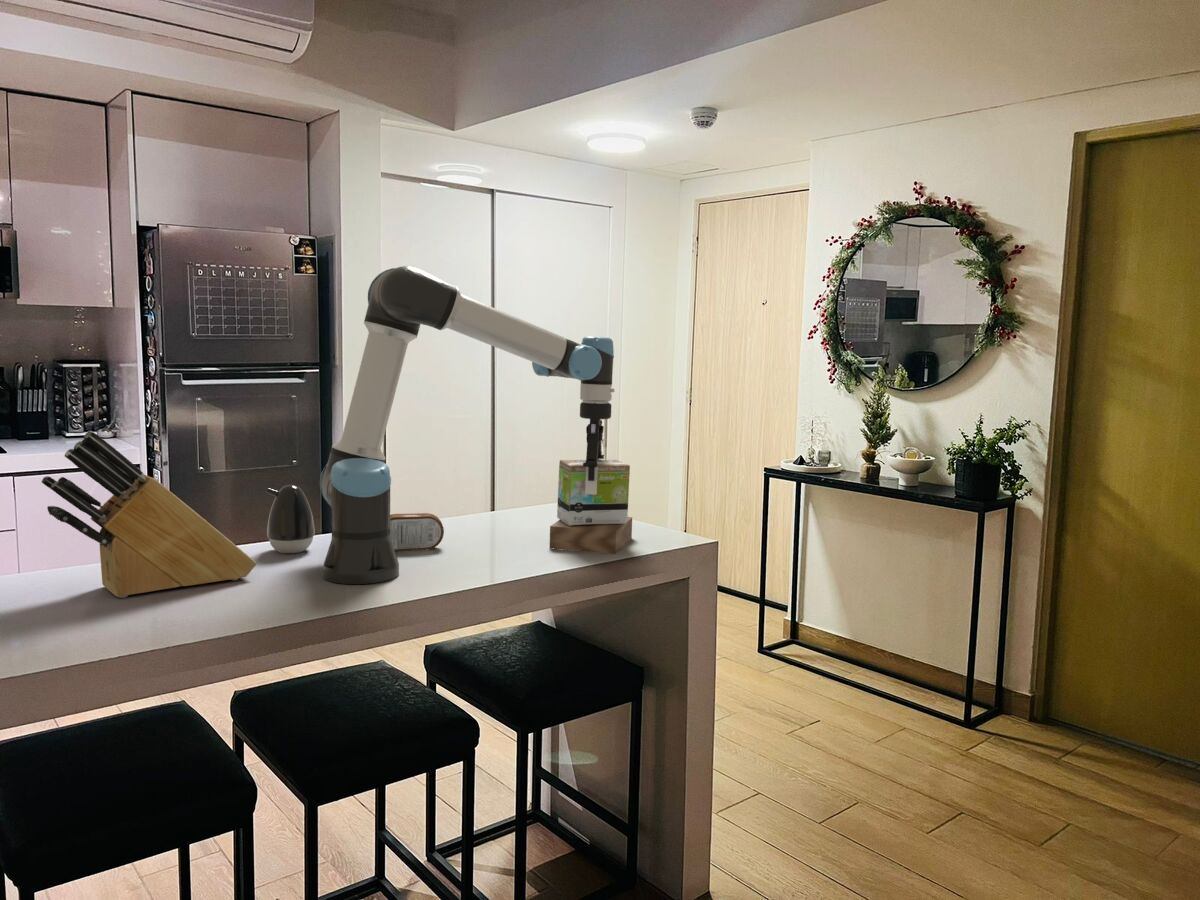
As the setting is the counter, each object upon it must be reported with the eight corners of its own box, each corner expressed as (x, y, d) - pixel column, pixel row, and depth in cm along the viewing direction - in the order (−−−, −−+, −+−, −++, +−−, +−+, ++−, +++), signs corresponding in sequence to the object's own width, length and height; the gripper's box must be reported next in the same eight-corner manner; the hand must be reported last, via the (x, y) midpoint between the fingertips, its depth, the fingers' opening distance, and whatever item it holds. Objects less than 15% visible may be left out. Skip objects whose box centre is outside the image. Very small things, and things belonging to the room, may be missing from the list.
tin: (442, 546, 218) (442, 511, 217) (444, 549, 215) (445, 514, 214) (377, 549, 214) (377, 513, 213) (378, 553, 211) (378, 516, 210)
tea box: (569, 527, 218) (570, 464, 216) (556, 518, 227) (557, 459, 226) (628, 524, 223) (630, 463, 221) (614, 516, 233) (615, 457, 231)
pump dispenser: (273, 545, 215) (271, 480, 213) (319, 546, 216) (318, 481, 214) (261, 556, 205) (259, 488, 203) (309, 556, 206) (308, 488, 204)
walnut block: (549, 551, 219) (550, 526, 219) (570, 535, 237) (570, 512, 236) (615, 556, 216) (616, 531, 215) (631, 540, 233) (632, 517, 232)
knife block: (44, 594, 172) (36, 428, 168) (237, 567, 195) (234, 420, 191) (57, 609, 163) (49, 434, 160) (257, 579, 186) (254, 425, 182)
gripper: (608, 406, 209) (605, 499, 212) (613, 399, 234) (610, 482, 237) (575, 404, 210) (572, 497, 212) (584, 398, 234) (581, 481, 237)
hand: (592, 489), depth 224 cm, fingers open, 13 cm apart
